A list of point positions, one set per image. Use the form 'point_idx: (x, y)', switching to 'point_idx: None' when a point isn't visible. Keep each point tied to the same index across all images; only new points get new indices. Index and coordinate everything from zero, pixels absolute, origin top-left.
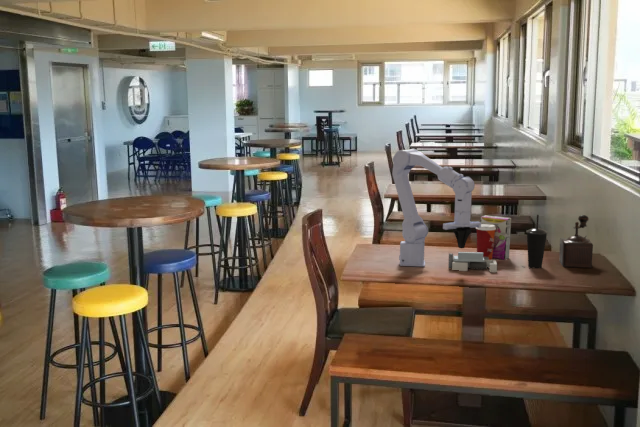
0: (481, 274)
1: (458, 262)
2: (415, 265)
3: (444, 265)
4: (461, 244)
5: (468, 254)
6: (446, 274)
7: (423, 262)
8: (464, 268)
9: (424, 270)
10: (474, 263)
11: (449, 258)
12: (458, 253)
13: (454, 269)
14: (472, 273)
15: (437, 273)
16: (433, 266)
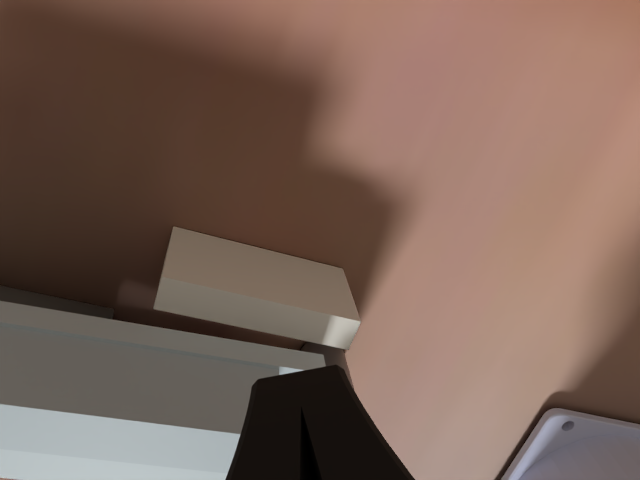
0: (16, 46)
1: (277, 324)
2: (625, 424)
3: None
4: (362, 420)
5: (118, 398)
6: (478, 119)
7: (535, 477)
8: (207, 248)
9: (611, 301)
10: None
11: None
12: None
13: (320, 269)
14: (135, 118)
15: (552, 176)
16: (456, 420)
